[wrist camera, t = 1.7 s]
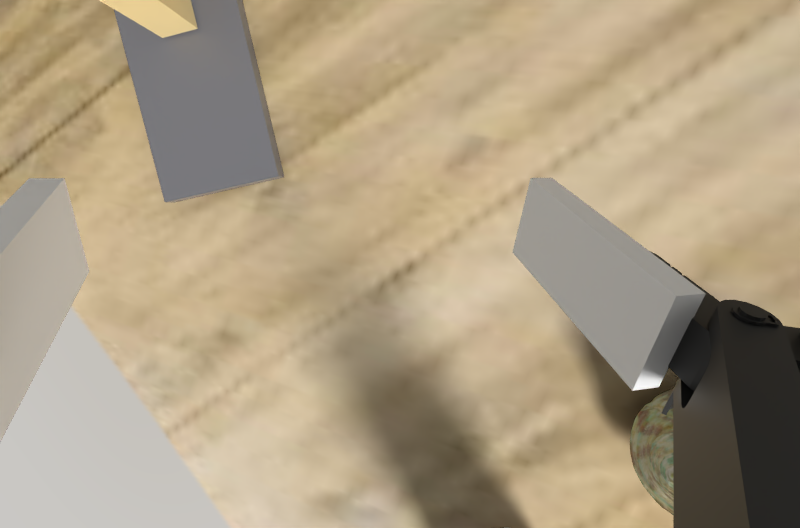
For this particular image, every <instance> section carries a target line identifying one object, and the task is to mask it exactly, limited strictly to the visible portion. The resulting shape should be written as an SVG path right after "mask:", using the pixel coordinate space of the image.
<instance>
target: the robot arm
mask: <svg viewBox="0 0 800 528" xmlns="http://www.w3.org/2000/svg"><path fill="white" fill-rule="evenodd" d="M513 253H514V255H515V256H516V257H517V258H518V259H519V260H520V261H521V263H522V264H523V265H524V266H525V267H526V268H527V270H528V271H529V272H530V273H531V274H532V275H533V276H534V278H535V279H536V280H537V281H538V282H539V283H540V285H541V286H542V287H543V288H544V289H545V290H546V292H547V293H548V294H549V295H550V296H551V297H552V298H553V300H554V301H555V302H556V303H557V304H558V305H559V307H560V308H561V309H562V310H563V311H564V312H565V313H566V315H567V316H568V317H569V318H570V319H571V320H572V322H573V323H574V324H575V325H576V326H577V327H578V329H579V330H580V331H581V332H582V333H583V334H584V335H585V337H586V338H587V339H588V340H589V341H590V342H591V344H592V345H593V346H594V347H595V348H596V349H597V350H598V352H599V353H600V354H601V355H602V356H603V357H604V359H605V360H606V361H607V362H608V363H609V364H610V366H611V367H612V368H613V369H614V370H615V371H616V372H617V374H618V375H619V376H620V377H621V378H622V379H623V381H624V382H625V383H626V384H627V385H628V386H629V387H630V389H631V390H632V391H634V390H641V389H649V388H657V387H659V386H660V384H661V382H662V380H663V378H664V376H665V374H666V372H667V370H668V368H670V369H671V370H672V371H673V372H674V373H675V374H676V375H677V376H678V377H679V379H678V381H677V383H676V385H675V387H674V389H673V391H672V393H671V395H670V396H669V398H668V400H667V402H666V404H665V406H664V408H663V410H662V414H664V415H667V413H668V411H669V410H670V409H673V487H674V528H800V328H794V327H787V326H783V325H782V323H781V322H780V320H779V319H777V318H776V317H775V316H774V315H772V314H771V313H769V312H767V311H766V310H764V309H762V308H760V307H758V306H755V305H752V304H749V303H747V302H742V301H737V300H723V301H721V302H719V301H718V300H717V299H715V298H714V297H713V296H711V295H710V294H709V293H707V292H706V291H705V290H703V289H702V288H701V287H699V286H698V285H697V284H695V283H694V282H693V281H691V280H690V279H689V278H687V277H686V276H682V273H681V272H679V271H678V270H677V269H675V268H674V267H671V266H670V264H669V263H667V262H666V261H665V260H663V259H662V258H661V257H659V256H658V255H657V254H654V253H652V252H650V251H648V250H647V249H646V248H644V247H643V246H642V245H640V244H639V243H638V242H636V241H635V240H634V239H632V238H631V237H630V236H628V235H627V234H626V233H624V232H623V231H622V230H620V229H619V228H618V227H617V226H615V225H614V224H613V223H611V222H610V221H609V220H607V219H606V218H605V217H603V216H602V215H601V214H599V213H598V212H597V211H595V210H594V209H593V208H591V207H590V206H589V205H587V204H586V203H585V202H583V201H582V200H581V199H579V198H578V197H577V196H575V195H574V194H573V193H571V192H570V191H569V190H567V189H566V188H565V187H563V186H562V185H561V184H559V183H558V182H557V181H555V180H554V179H553V178H531V179H530V183H529V187H528V191H527V196H526V200H525V204H524V208H523V212H522V216H521V220H520V224H519V228H518V232H517V236H516V240H515V245H514V249H513ZM88 273H89V268H88V264H87V260H86V257H85V253H84V249H83V245H82V242H81V238H80V234H79V231H78V227H77V223H76V219H75V216H74V212H73V208H72V205H71V201H70V197H69V193H68V190H67V186H66V182H65V178H29V179H28V180H27V181H26V182H25V183H24V184H23V185H22V186H21V187H20V188H19V189H18V190H17V191H16V192H15V193H14V194H13V195H12V196H11V197H10V198H9V199H8V200H7V201H6V202H5V203H4V204H3V205H2V206H1V207H0V442H1V440H2V438H3V436H4V434H5V432H6V430H7V428H8V426H9V424H10V422H11V420H12V419H13V417H14V414H15V413H16V411H17V409H18V407H19V405H20V403H21V401H22V399H23V397H24V395H25V394H26V392H27V390H28V388H29V386H30V384H31V382H32V380H33V378H34V376H35V374H36V372H37V371H38V369H39V367H40V365H41V363H42V361H43V359H44V357H45V355H46V353H47V351H48V349H49V347H50V346H51V343H52V342H53V340H54V338H55V336H56V334H57V332H58V330H59V328H60V326H61V324H62V322H63V321H64V318H65V317H66V315H67V313H68V311H69V309H70V307H71V305H72V303H73V301H74V299H75V298H76V296H77V294H78V292H79V290H80V288H81V286H82V284H83V282H84V280H85V278H86V276H87V274H88Z"/></svg>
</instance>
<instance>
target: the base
mask: <svg viewBox="0 0 800 528" xmlns="http://www.w3.org/2000/svg"><path fill="white" fill-rule="evenodd" d="M191 3H192V7H193V11H194V15H195V19H196V23H197V27H198V29H195V30H191V31H187V32H183V33H180V34H176V35H172V36H168V37H165V38H162V37H160V36H158V35H157V34H155V33H153V32H152V31H150V30H148V29H147V28H145V27H143V26H142V25H140V24H138V23H136V22H135V21H133V20H131V19H130V18H128V17H126V16H125V15H123V14H121V13H120V12H118V11H116V10H115V9H114V12H115V15H116V19H117V23H118V27H119V31H120V34H121V38H122V42H123V46H124V49H125V53H126V57H127V61H128V65H129V68H130V72H131V76H132V80H133V83H134V87H135V91H136V95H137V99H138V102H139V106H140V110H141V114H142V117H143V121H144V125H145V129H146V133H147V136H148V140H149V144H150V148H151V151H152V155H153V159H154V163H155V167H156V170H157V174H158V178H159V182H160V185H161V189H162V193H163V197H164V201H165V202H178V201H182V200H186V199H191V198H195V197H200V196H204V195H208V194H213V193H217V192H221V191H226V190H230V189H235V188H239V187H243V186H248V185H252V184H256V183H261V182H265V181H270V180H274V179H278V178H283V177H284V174H283V170H282V166H281V161H280V157H279V153H278V149H277V144H276V140H275V136H274V132H273V128H272V123H271V119H270V115H269V111H268V106H267V102H266V98H265V94H264V90H263V85H262V81H261V77H260V73H259V68H258V64H257V60H256V56H255V52H254V47H253V43H252V39H251V35H250V31H249V26H248V22H247V18H246V14H245V9H244V5H243V1H242V0H191Z"/></svg>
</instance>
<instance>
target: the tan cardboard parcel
mask: <svg viewBox="0 0 800 528" xmlns="http://www.w3.org/2000/svg"><path fill="white" fill-rule="evenodd" d="M99 1H101V2H103V3H104V4H106V5H108V6H110V7H111V8H113V9H115V10H116V11H118V12H120V13H121V14H123V15H125V16H126V17H128V18H130V19H131V20H133V21H135V22H136V23H138V24H140V25H142V26H143V27H145V28H147V29H148V30H150V31H152V32H153V33H155V34H157V35H158V36H160V37H162V38H165V37H168V36H172V35H176V34H180V33H183V32H187V31H191V30H195V29H198V27H197V23H196V19H195V15H194V11H193V7H192V3H191V0H99Z"/></svg>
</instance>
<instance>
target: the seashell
mask: <svg viewBox="0 0 800 528" xmlns="http://www.w3.org/2000/svg"><path fill="white" fill-rule="evenodd" d="M672 391H673V389H671V390H668V391H666V392H664V393H662V394H660V395H658V396H656V397H655V398H654V399H653V401H652V402H651V403H648V404H646V405H645V406H644V407H643V408H642V409H641V411H640V412H639V413H638V414H637V416H636V418H635V420H634V424H633V427H632V430H631V437H630V452H631V458H632V462H633V466H634V469H635V471H636V473H637V475H638V477H639V479H640V481H641V483H642V484H643V486H644V487H645V488H646V490H647V491H648V492H649V493H650V495H651V496H652V497H653V498H654V499H655V501H656V502H657V503H658V504H659V505H660V506H661V507H663V508H664V509H666V510H667V511H669V512H670V513H671V514H672V515H674V487H673V409H670V410H669V411H668V413H667V415H664V414H662V410H663V408H664V406H665V404H666V402H667V400H668V398H669V396H670V395H671V393H672Z"/></svg>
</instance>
